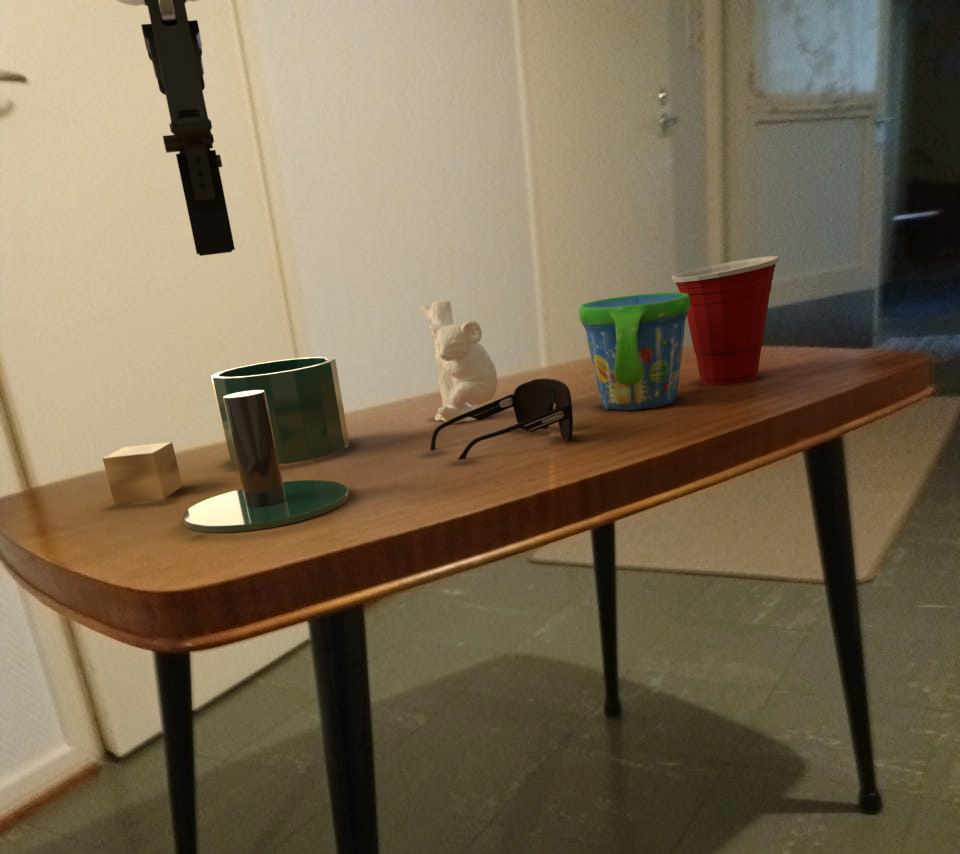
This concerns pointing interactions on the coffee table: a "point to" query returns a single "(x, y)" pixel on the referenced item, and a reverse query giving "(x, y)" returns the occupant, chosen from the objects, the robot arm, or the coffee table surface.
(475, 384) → the koala figurine
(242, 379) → the tin
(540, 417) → the sunglasses
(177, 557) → the coffee table surface
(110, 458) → the block
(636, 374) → the snack cup
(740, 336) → the plastic cup
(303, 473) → the coffee table surface
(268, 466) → the lid
